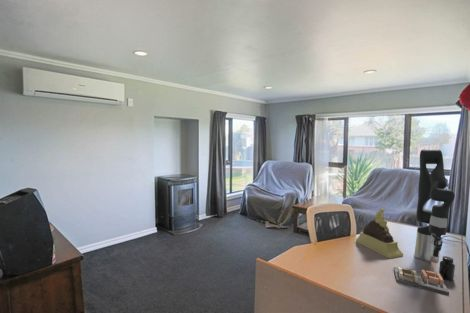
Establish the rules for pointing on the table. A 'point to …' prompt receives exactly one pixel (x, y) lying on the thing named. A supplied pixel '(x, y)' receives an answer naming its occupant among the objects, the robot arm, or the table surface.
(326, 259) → the table surface
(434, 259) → the peg
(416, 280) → the mount board
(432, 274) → the socket
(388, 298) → the table surface
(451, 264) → the supplement bottle
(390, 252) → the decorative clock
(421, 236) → the robot arm
